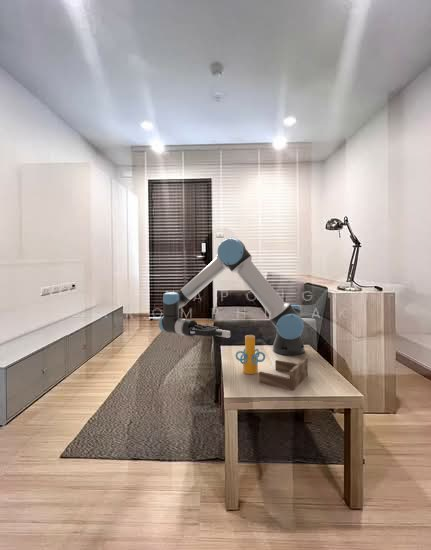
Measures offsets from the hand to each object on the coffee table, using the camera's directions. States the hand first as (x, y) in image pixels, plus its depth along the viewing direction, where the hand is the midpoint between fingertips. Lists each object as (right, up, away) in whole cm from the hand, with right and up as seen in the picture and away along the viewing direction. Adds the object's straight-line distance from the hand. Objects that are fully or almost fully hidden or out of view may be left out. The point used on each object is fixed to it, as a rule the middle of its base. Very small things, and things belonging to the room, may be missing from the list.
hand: (229, 334), depth 135 cm
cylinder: (+9, -15, -4) cm, 18 cm away
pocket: (+21, -15, -13) cm, 28 cm away
